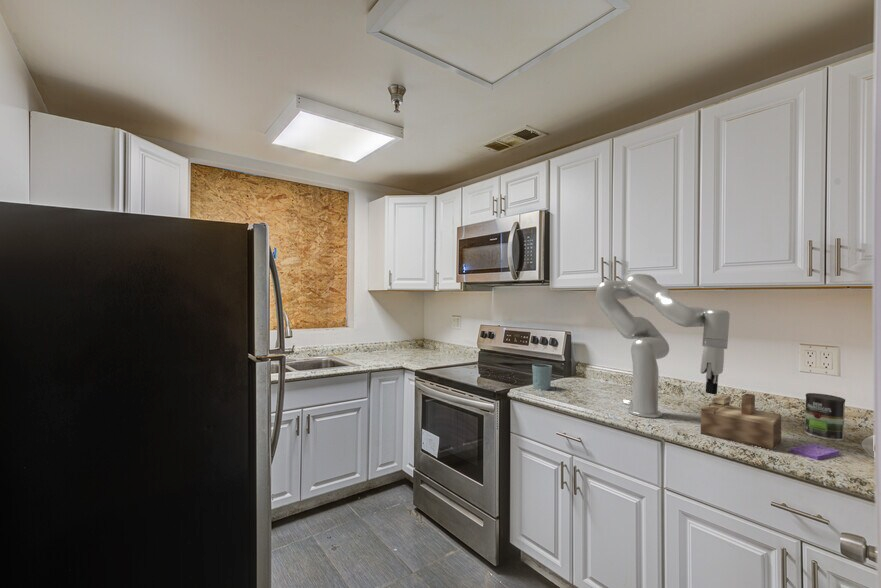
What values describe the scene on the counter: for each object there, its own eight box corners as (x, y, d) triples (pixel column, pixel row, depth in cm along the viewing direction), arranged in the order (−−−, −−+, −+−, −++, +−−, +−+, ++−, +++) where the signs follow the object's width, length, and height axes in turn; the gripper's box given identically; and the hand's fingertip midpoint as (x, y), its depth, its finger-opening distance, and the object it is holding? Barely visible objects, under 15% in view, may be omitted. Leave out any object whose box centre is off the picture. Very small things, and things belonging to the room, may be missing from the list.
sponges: (839, 456, 126) (839, 450, 126) (817, 462, 121) (817, 455, 121) (812, 448, 133) (812, 442, 133) (789, 453, 128) (789, 447, 128)
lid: (704, 411, 142) (704, 392, 142) (715, 405, 152) (716, 386, 152) (773, 425, 128) (773, 403, 128) (781, 417, 137) (781, 397, 137)
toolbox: (700, 433, 143) (701, 408, 143) (716, 423, 156) (717, 399, 156) (772, 450, 128) (773, 422, 128) (783, 437, 141) (784, 411, 141)
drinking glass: (530, 389, 206) (531, 366, 206) (532, 385, 216) (532, 363, 216) (551, 391, 203) (552, 367, 203) (552, 387, 213) (552, 364, 213)
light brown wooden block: (712, 402, 150) (712, 397, 150) (718, 399, 156) (719, 394, 156) (723, 404, 148) (723, 399, 148) (729, 401, 153) (729, 396, 153)
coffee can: (835, 442, 137) (836, 401, 137) (798, 433, 146) (799, 394, 147) (850, 439, 141) (851, 398, 141) (813, 429, 151) (814, 392, 151)
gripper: (709, 340, 154) (705, 388, 155) (696, 343, 144) (692, 393, 145) (732, 343, 148) (729, 392, 149) (721, 346, 139) (717, 399, 139)
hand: (711, 393), depth 147 cm, fingers closed
